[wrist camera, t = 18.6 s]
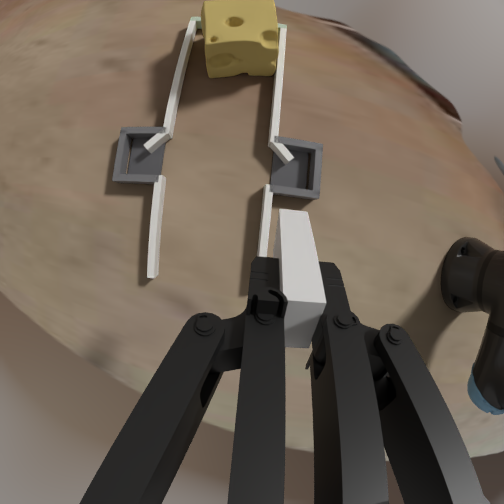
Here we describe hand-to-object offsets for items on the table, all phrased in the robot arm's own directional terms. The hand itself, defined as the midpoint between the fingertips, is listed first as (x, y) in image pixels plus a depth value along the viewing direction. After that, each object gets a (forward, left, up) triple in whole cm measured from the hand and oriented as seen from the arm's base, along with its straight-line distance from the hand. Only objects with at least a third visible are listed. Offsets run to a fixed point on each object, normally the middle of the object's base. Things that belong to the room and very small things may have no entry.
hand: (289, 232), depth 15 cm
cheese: (+5, -28, -25) cm, 38 cm away
